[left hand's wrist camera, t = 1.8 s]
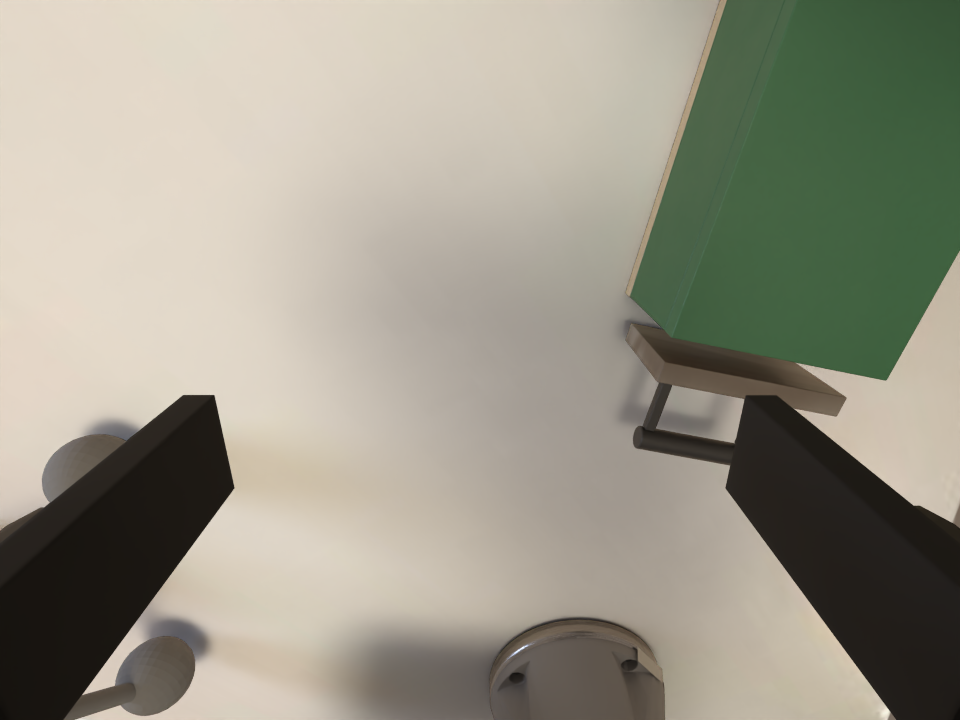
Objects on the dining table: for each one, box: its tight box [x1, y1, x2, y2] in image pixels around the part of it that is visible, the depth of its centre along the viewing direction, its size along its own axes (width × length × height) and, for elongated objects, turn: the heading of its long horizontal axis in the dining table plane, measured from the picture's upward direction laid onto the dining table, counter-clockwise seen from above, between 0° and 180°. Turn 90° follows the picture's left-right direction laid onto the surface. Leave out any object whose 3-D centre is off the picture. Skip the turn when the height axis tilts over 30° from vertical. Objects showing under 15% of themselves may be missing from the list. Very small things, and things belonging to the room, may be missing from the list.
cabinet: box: [626, 0, 960, 380], centre depth 25 cm, size 21×12×8 cm, turn 168°
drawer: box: [626, 323, 846, 465], centre depth 28 cm, size 25×10×6 cm, turn 168°
